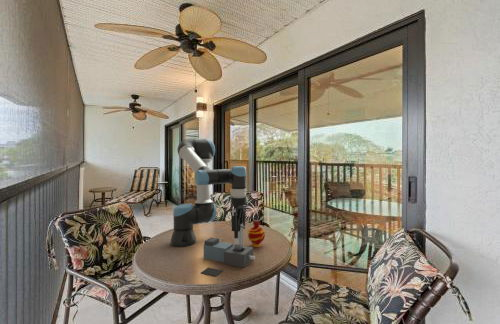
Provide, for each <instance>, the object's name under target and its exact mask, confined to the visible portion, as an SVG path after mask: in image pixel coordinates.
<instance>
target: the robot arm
mask: <svg viewBox="0 0 500 324" xmlns="http://www.w3.org/2000/svg"><path fill="white" fill-rule="evenodd" d="M215 147H216V146H215V144H214V142H213V141H212V140H211V139H208V138H207V139H206V138H185V139H183V140H182V141H180V143H179V144H178V146H177V149H176V150H177V153H178V156H179V158H181V159H182V160H184V161H185V163H186V164H187V165H188V167H189V168H191V170H192V172H193V173H194V183H195V184H196V200H195V201H194V205H193V203H182V204H179V205H177V206H175V207H174V208H173V213H172V214H173V215H172V216H173V232H172V235H171V239H170V245H171V246H173V247H178V248H182V247H188V246H193V245H195V244H196V243H197V237H196V235H195V231H194V225H199V224H207V223H209V222H211V223H212V222H213V221H214V220H215V218H216V217H217V206H216V204H215V203H214V201H213V200H212V199H211V185H219V184H220V185H222V184H230V185H231V186H230V188H231V189H230V192H231V193H230V195H231V199H230V200H231V201H230V203H231V205H232V206H233V210H232V211H230V216H231V217H230V218H231V232H233V233H234V234H233V237H234V238H233V245H235V244H237V245H239V244H240V231H239V223H243V226H246V217H247V216H246V211H247V207H245V205H246V204H247V168H246V166H244V165H236V166H235V165H234V166H232V167H231V168H223V169H222V168H221V169H211V167H210V163H211V161H212V159H213V157H214V156H215V154H216V148H215ZM245 229H246V227H245V228H243V230H245Z"/></svg>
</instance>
